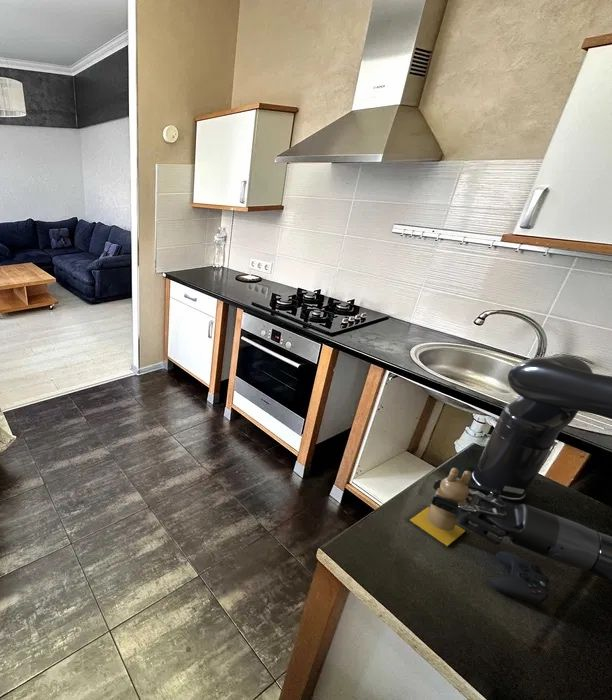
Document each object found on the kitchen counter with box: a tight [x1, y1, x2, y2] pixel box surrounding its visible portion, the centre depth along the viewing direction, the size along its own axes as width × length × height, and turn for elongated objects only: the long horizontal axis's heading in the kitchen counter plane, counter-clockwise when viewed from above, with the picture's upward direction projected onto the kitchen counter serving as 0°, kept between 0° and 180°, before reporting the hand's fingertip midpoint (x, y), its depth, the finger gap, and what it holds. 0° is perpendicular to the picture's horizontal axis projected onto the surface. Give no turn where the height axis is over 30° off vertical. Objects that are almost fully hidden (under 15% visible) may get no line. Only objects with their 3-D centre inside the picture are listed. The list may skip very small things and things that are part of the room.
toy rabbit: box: [427, 467, 473, 531], centre depth 74 cm, size 5×5×13 cm
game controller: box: [490, 551, 550, 608], centre depth 65 cm, size 10×5×6 cm
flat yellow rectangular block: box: [409, 506, 466, 547], centre depth 77 cm, size 7×7×1 cm
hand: (434, 491), depth 75 cm, fingers closed on toy rabbit, 4 cm apart
